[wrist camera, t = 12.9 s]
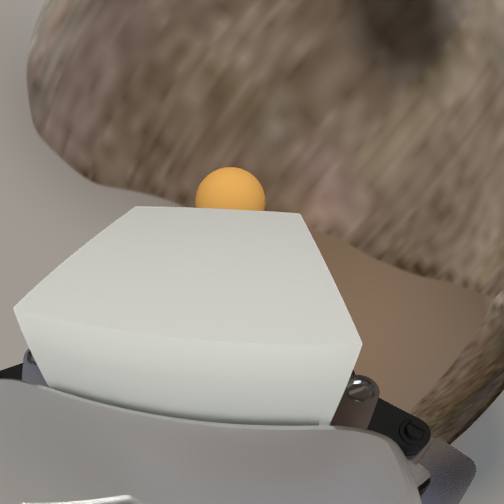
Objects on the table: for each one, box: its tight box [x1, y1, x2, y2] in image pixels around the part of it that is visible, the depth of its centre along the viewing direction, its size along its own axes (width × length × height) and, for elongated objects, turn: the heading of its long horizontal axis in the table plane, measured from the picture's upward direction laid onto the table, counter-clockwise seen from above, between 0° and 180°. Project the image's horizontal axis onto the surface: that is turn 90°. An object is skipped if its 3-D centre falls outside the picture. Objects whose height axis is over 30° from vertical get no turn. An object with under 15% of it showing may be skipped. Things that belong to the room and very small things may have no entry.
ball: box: [195, 167, 265, 211], centre depth 21 cm, size 5×5×5 cm
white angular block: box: [13, 206, 362, 426], centre depth 11 cm, size 8×8×9 cm
